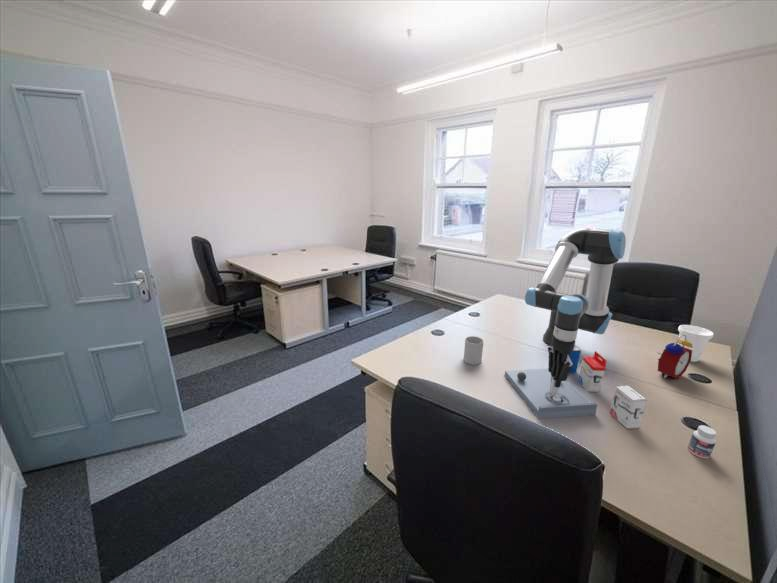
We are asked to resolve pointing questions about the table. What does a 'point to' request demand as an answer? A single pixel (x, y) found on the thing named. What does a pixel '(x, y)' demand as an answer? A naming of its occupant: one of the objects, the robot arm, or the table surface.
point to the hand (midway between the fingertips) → (553, 392)
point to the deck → (549, 395)
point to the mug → (473, 350)
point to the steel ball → (556, 399)
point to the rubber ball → (521, 376)
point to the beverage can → (575, 359)
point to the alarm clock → (675, 358)
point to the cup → (695, 339)
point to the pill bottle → (702, 441)
